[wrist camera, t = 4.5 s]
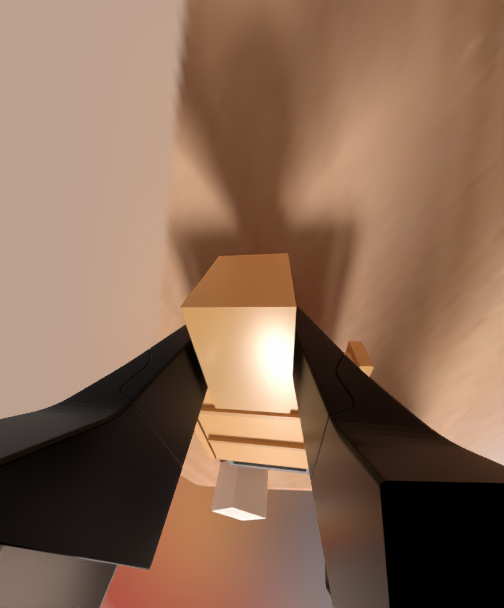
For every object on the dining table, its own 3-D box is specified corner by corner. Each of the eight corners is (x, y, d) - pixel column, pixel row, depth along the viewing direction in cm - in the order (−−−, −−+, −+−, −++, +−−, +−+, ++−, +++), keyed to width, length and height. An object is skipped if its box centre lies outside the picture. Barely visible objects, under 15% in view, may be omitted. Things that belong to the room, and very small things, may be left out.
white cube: (268, 465, 32) (266, 518, 27) (247, 472, 35) (242, 520, 30) (239, 454, 31) (232, 507, 26) (220, 461, 33) (210, 511, 29)
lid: (389, 248, 7) (483, 305, 4) (325, 448, 17) (337, 510, 14) (138, 259, 9) (54, 308, 5) (214, 437, 19) (201, 492, 16)
